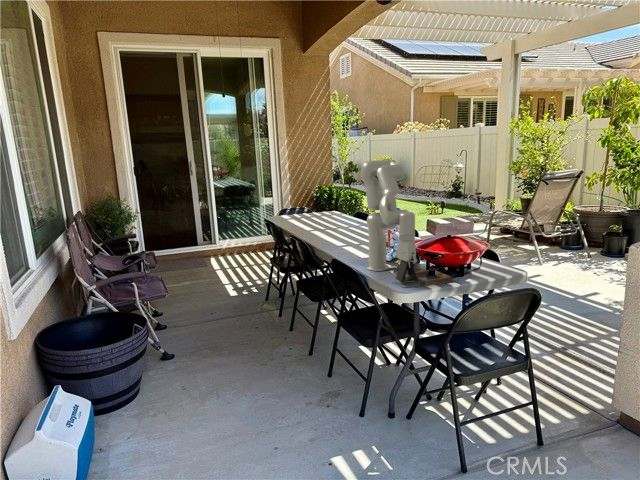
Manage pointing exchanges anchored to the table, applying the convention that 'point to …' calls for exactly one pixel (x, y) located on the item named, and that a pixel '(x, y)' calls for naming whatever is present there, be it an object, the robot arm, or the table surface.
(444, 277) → the pocket block
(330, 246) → the table surface
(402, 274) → the door stopper
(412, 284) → the rubber mat
